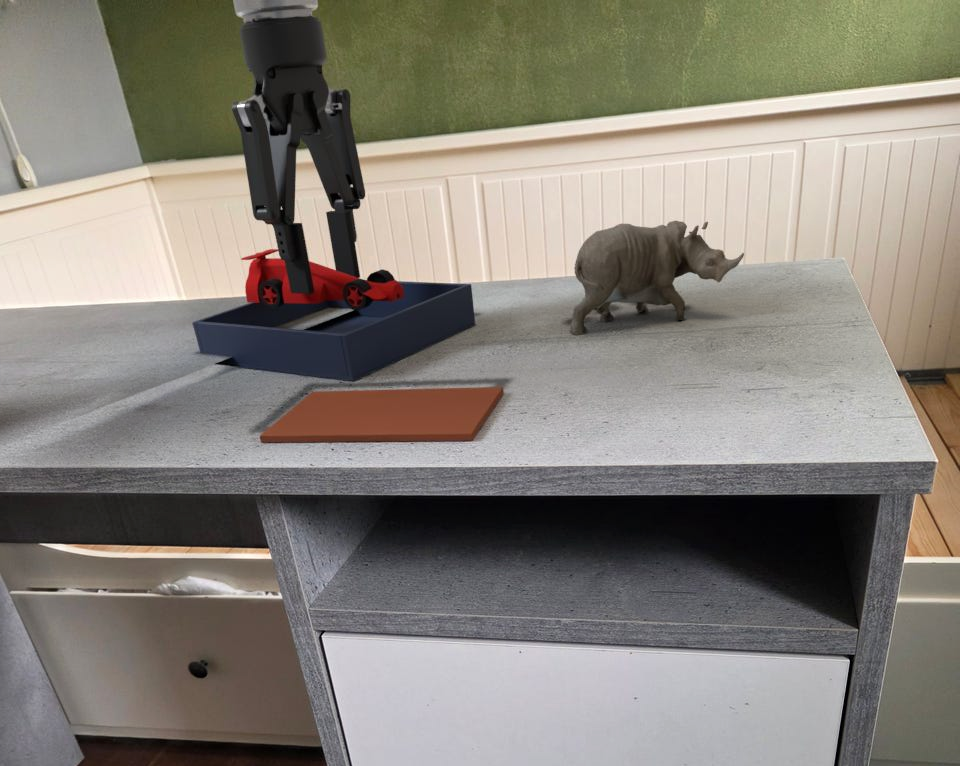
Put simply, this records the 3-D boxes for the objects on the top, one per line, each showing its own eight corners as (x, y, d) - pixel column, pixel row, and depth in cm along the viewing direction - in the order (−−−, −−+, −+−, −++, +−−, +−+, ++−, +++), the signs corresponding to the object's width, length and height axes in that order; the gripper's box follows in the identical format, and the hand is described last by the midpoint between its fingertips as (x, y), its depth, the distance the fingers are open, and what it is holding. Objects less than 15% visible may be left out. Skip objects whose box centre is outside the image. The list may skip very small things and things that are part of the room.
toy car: (383, 311, 87) (375, 258, 85) (247, 308, 95) (236, 258, 92) (414, 297, 92) (407, 246, 89) (281, 295, 99) (271, 247, 97)
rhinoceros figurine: (537, 295, 94) (619, 159, 86) (640, 357, 98) (727, 233, 90) (543, 320, 88) (632, 175, 80) (653, 385, 92) (747, 254, 84)
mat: (260, 442, 72) (258, 435, 71) (313, 397, 80) (312, 391, 80) (472, 440, 67) (471, 433, 67) (503, 393, 76) (503, 386, 75)
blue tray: (202, 362, 95) (191, 322, 93) (330, 314, 108) (323, 278, 106) (353, 381, 83) (345, 335, 81) (475, 325, 97) (471, 283, 94)
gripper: (225, 15, 72) (285, 309, 84) (378, 10, 84) (410, 266, 97) (167, 26, 75) (233, 305, 88) (322, 20, 88) (360, 264, 101)
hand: (326, 284), depth 92 cm, fingers closed on toy car, 6 cm apart
